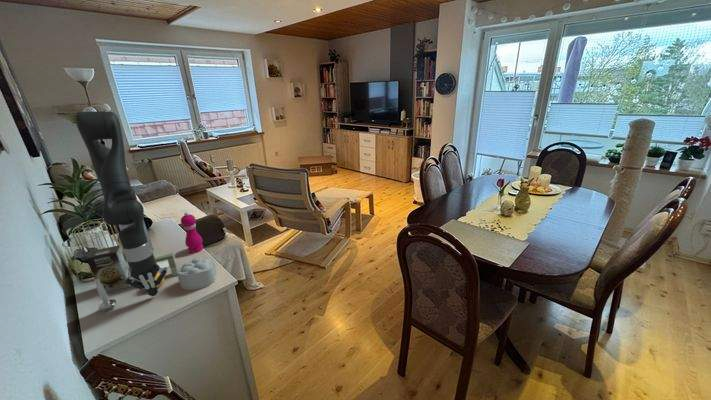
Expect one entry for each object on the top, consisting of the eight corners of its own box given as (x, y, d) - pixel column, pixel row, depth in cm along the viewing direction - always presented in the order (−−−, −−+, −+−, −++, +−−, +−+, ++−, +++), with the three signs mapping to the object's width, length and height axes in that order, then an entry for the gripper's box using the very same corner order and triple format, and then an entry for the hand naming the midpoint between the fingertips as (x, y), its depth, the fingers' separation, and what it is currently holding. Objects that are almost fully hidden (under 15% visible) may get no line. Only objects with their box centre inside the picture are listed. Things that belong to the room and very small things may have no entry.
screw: (120, 302, 105) (113, 312, 100) (105, 305, 104) (97, 314, 99) (108, 273, 100) (99, 282, 95) (92, 275, 99) (83, 284, 95)
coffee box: (100, 294, 110) (84, 258, 104) (105, 284, 115) (90, 250, 109) (129, 286, 113) (115, 251, 108) (132, 277, 119) (119, 244, 113)
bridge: (136, 283, 115) (128, 263, 112) (178, 271, 122) (172, 252, 118) (135, 287, 113) (127, 267, 109) (178, 275, 119) (172, 255, 116)
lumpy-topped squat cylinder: (215, 285, 113) (210, 267, 109) (178, 293, 109) (171, 274, 106) (217, 270, 122) (213, 253, 119) (183, 277, 118) (178, 260, 115)
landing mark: (145, 260, 131) (145, 260, 131) (175, 252, 136) (175, 252, 136) (142, 274, 121) (142, 273, 121) (174, 265, 126) (174, 264, 126)
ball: (142, 279, 107) (146, 292, 109) (161, 274, 110) (165, 287, 111) (145, 272, 112) (149, 285, 114) (163, 267, 115) (166, 281, 117)
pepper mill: (207, 248, 139) (197, 210, 132) (193, 255, 134) (182, 216, 126) (199, 244, 143) (189, 208, 136) (184, 251, 137) (173, 213, 130)
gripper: (162, 245, 106) (174, 283, 112) (118, 255, 100) (133, 295, 106) (161, 254, 100) (174, 294, 106) (114, 266, 94) (131, 307, 100)
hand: (154, 294), depth 106 cm, fingers closed
